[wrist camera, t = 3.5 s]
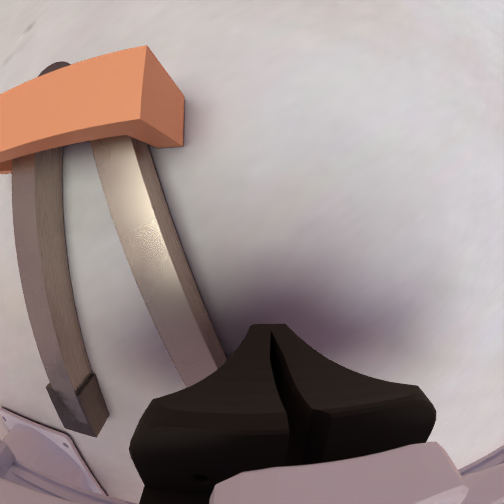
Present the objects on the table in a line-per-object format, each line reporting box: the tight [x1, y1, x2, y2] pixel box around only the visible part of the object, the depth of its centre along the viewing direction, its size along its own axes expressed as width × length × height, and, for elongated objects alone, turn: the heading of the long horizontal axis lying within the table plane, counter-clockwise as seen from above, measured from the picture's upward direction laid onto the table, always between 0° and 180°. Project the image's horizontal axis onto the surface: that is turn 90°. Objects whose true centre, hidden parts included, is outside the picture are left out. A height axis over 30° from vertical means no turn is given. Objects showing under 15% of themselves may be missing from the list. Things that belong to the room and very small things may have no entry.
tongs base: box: [12, 62, 109, 437], centre depth 10 cm, size 17×4×3 cm, turn 0°
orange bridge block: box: [0, 45, 184, 174], centre depth 8 cm, size 2×10×4 cm, turn 90°
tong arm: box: [90, 135, 227, 387], centre depth 10 cm, size 14×2×2 cm, turn 18°
